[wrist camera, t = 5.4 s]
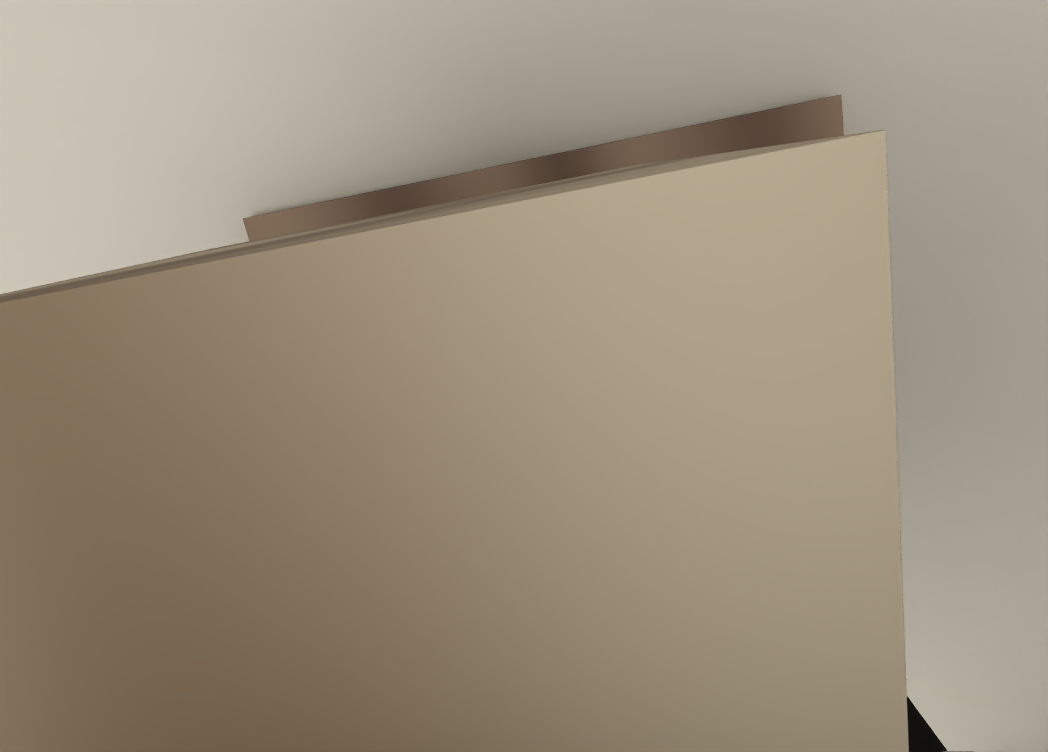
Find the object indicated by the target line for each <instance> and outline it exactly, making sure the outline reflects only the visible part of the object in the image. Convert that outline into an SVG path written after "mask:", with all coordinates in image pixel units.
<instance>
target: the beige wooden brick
mask: <svg viewBox="0 0 1048 752" xmlns="http://www.w3.org/2000/svg"><path fill="white" fill-rule="evenodd" d="M0 752H909V744H908V718H907V691H906V664H905V637H904V610H903V584H902V557H901V530H900V503H899V476H898V449H897V423H896V396H895V369H894V342H893V315H892V288H891V262H890V235H889V208H888V181H887V154H886V130H881V131H874V132H867V133H860V134H853V135H846V136H839V137H832V138H825V139H818V140H811V141H804V142H797V143H790V144H783V145H776V146H769V147H762V148H754V149H747V150H740V151H733V152H726V153H719V154H712V155H705V156H698V157H691V158H684V159H677V160H670V161H663V162H656V163H649V164H642V165H636V166H631V167H625V168H620V169H615V170H610V171H605V172H600V173H595V174H590V175H585V176H580V177H575V178H570V179H564V180H559V181H554V182H549V183H544V184H539V185H534V186H529V187H524V188H519V189H514V190H508V191H503V192H498V193H493V194H488V195H483V196H478V197H473V198H468V199H463V200H458V201H453V202H447V203H442V204H437V205H432V206H427V207H422V208H417V209H412V210H407V211H402V212H397V213H391V214H386V215H381V216H376V217H371V218H366V219H361V220H356V221H351V222H346V223H341V224H336V225H330V226H325V227H320V228H315V229H310V230H305V231H300V232H295V233H290V234H285V235H280V236H274V237H269V238H264V239H259V240H254V241H249V242H244V243H239V244H234V245H229V246H224V247H219V248H213V249H209V250H204V251H199V252H195V253H190V254H185V255H181V256H176V257H172V258H167V259H162V260H158V261H153V262H148V263H144V264H139V265H134V266H130V267H125V268H120V269H116V270H111V271H107V272H102V273H97V274H93V275H88V276H83V277H79V278H74V279H69V280H65V281H60V282H55V283H51V284H46V285H41V286H37V287H32V288H28V289H23V290H18V291H14V292H9V293H4V294H0Z"/></svg>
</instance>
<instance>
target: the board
mask: <svg viewBox="0 0 1048 752" xmlns="http://www.w3.org/2000/svg"><path fill="white" fill-rule="evenodd" d="M839 136H844V132H843V116H842V100H841V95H837V96H832V97H827V98H823V99H818V100H813V101H808V102H803V103H798V104H794V105H789V106H784V107H779V108H774V109H769V110H765V111H760V112H755V113H750V114H745V115H741V116H736V117H731V118H726V119H721V120H716V121H712V122H707V123H702V124H697V125H692V126H687V127H683V128H678V129H673V130H668V131H663V132H658V133H654V134H649V135H644V136H639V137H634V138H630V139H625V140H620V141H615V142H610V143H605V144H601V145H596V146H591V147H586V148H581V149H576V150H572V151H567V152H562V153H557V154H552V155H547V156H543V157H538V158H533V159H528V160H523V161H519V162H514V163H509V164H504V165H499V166H494V167H490V168H485V169H480V170H475V171H470V172H465V173H461V174H456V175H451V176H446V177H441V178H436V179H432V180H427V181H422V182H417V183H412V184H408V185H403V186H398V187H393V188H388V189H383V190H379V191H374V192H369V193H364V194H359V195H354V196H350V197H345V198H340V199H335V200H330V201H325V202H321V203H316V204H311V205H306V206H301V207H297V208H292V209H287V210H282V211H277V212H272V213H268V214H263V215H258V216H253V217H248V218H243V221H244V224H245V228H246V231H247V234H248V237H249V241H254V240H259V239H264V238H269V237H274V236H280V235H285V234H290V233H295V232H300V231H305V230H310V229H315V228H320V227H325V226H330V225H336V224H341V223H346V222H351V221H356V220H361V219H366V218H371V217H376V216H381V215H386V214H391V213H397V212H402V211H407V210H412V209H417V208H422V207H427V206H432V205H437V204H442V203H447V202H453V201H458V200H463V199H468V198H473V197H478V196H483V195H488V194H493V193H498V192H503V191H508V190H514V189H519V188H524V187H529V186H534V185H539V184H544V183H549V182H554V181H559V180H564V179H570V178H575V177H580V176H585V175H590V174H595V173H600V172H605V171H610V170H615V169H620V168H625V167H631V166H636V165H642V164H649V163H656V162H663V161H670V160H677V159H684V158H691V157H698V156H705V155H712V154H719V153H726V152H733V151H740V150H747V149H754V148H762V147H769V146H776V145H783V144H790V143H797V142H804V141H811V140H818V139H825V138H832V137H839Z"/></svg>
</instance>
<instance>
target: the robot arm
mask: <svg viewBox="0 0 1048 752" xmlns="http://www.w3.org/2000/svg"><path fill="white" fill-rule="evenodd" d="M907 718H908V744H909V752H973V751H947V750H946V748H945V747H944V746H943V744H942V743H941V742H940V740H939V739H938V738H937V736H936V735H935V733H934V732H933V731H932V729H931V728H930V727H929V725H928V724H927V723H926V721H925V720H924V718H923V717H922V716H921V714H920V713H919V712H918V710H917V709H916V708H915V706H914V705H913V703H912V702H911V701H910V699H909V698H908V697H907Z"/></svg>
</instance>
